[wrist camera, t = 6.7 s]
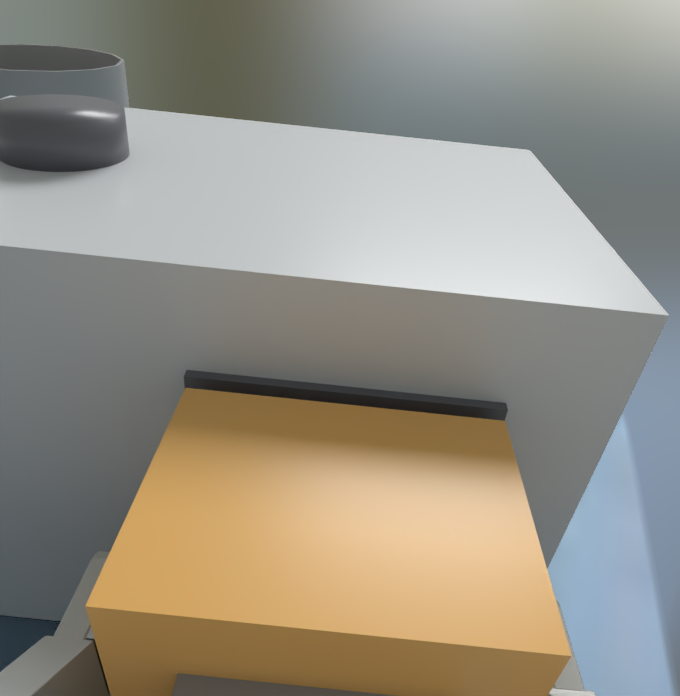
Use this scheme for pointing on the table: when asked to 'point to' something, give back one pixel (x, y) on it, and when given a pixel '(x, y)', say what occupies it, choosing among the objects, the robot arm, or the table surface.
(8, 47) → the cup
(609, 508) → the table surface
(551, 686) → the tan box with label
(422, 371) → the camera housing
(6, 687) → the robot arm
